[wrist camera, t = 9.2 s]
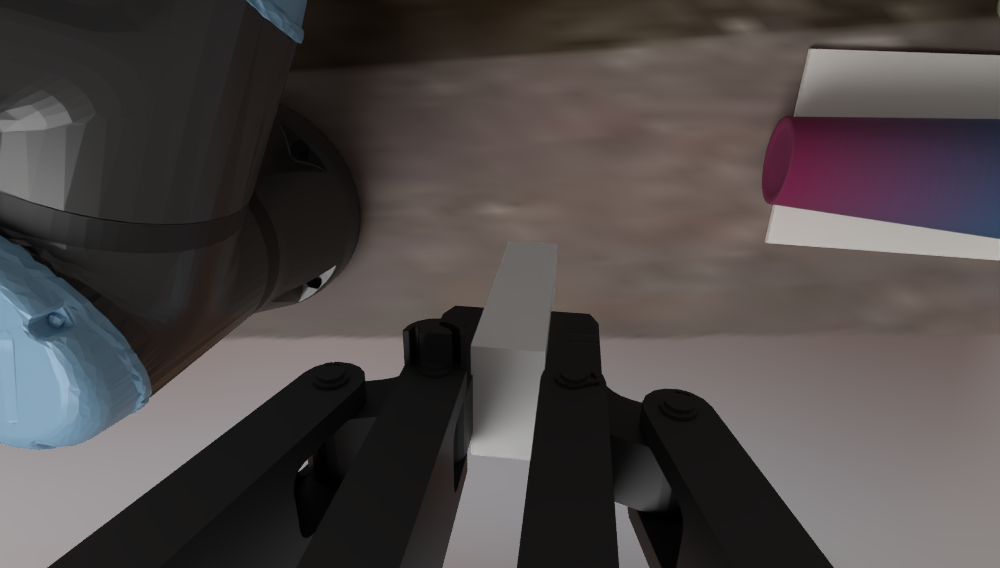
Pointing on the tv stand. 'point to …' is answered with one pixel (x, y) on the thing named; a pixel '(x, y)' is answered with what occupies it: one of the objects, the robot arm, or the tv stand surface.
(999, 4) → the vessel
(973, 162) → the cup
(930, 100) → the mat
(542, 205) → the tv stand surface
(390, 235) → the tv stand surface
